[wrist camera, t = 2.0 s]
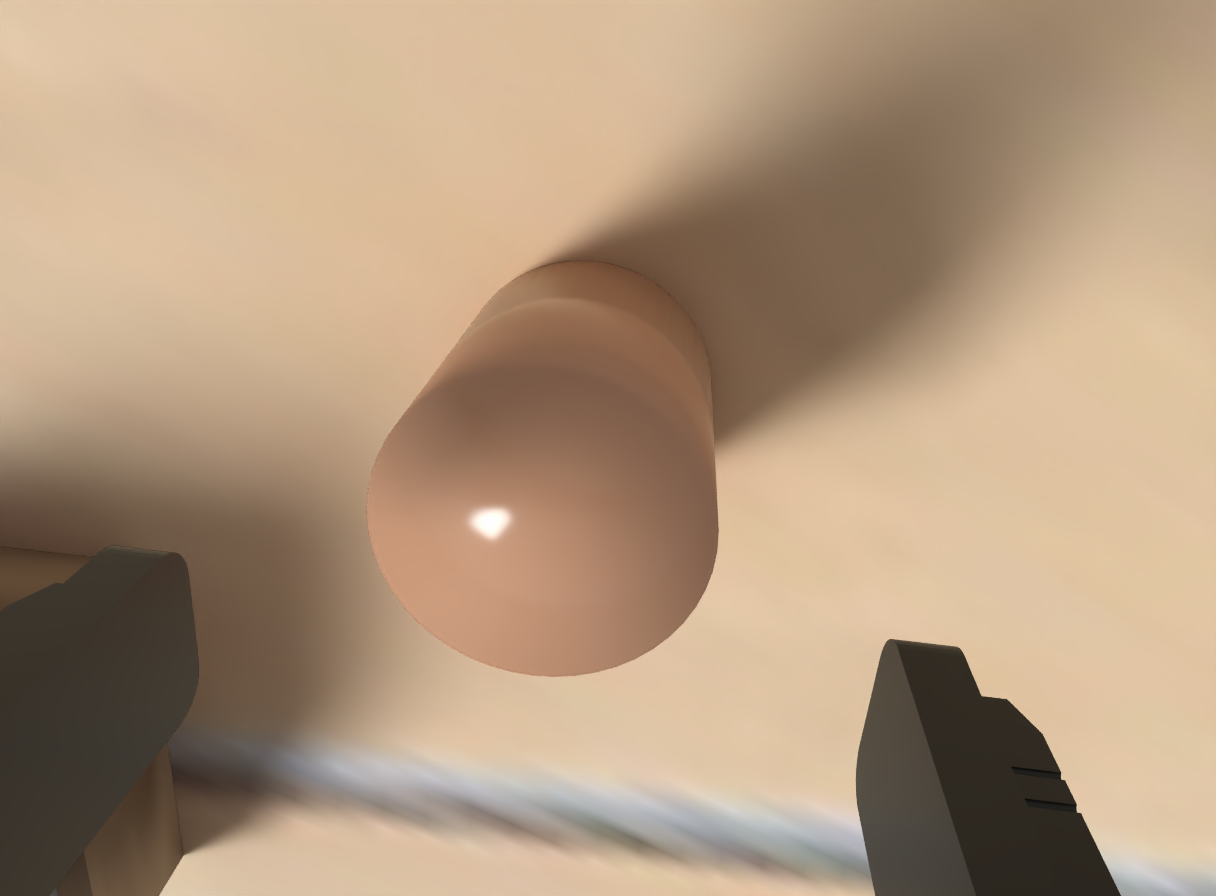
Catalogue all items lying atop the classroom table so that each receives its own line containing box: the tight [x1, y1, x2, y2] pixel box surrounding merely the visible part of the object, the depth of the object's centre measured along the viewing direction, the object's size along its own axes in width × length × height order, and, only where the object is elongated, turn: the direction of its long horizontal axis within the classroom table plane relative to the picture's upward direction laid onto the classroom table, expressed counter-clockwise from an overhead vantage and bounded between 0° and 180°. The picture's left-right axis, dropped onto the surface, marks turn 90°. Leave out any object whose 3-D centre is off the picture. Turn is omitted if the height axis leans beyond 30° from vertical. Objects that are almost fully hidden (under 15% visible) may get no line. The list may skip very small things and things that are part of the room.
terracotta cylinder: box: [367, 261, 719, 677], centre depth 16 cm, size 5×5×6 cm
